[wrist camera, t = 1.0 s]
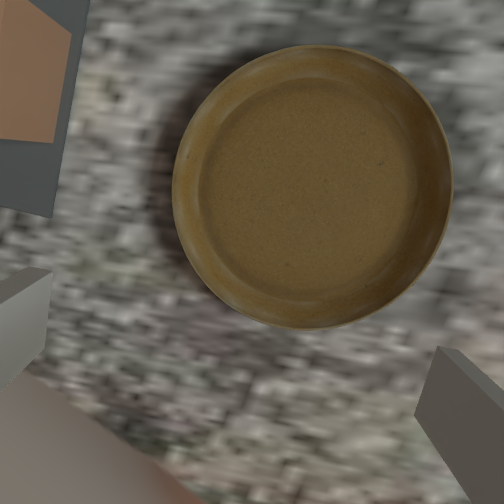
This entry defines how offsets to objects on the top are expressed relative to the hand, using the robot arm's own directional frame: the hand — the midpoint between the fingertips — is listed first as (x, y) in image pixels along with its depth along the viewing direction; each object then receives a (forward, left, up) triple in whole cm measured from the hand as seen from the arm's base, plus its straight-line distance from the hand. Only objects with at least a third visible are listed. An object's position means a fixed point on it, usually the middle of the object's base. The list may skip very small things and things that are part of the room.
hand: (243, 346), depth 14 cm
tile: (-8, -18, -25) cm, 32 cm away
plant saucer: (-5, +5, -26) cm, 27 cm away
